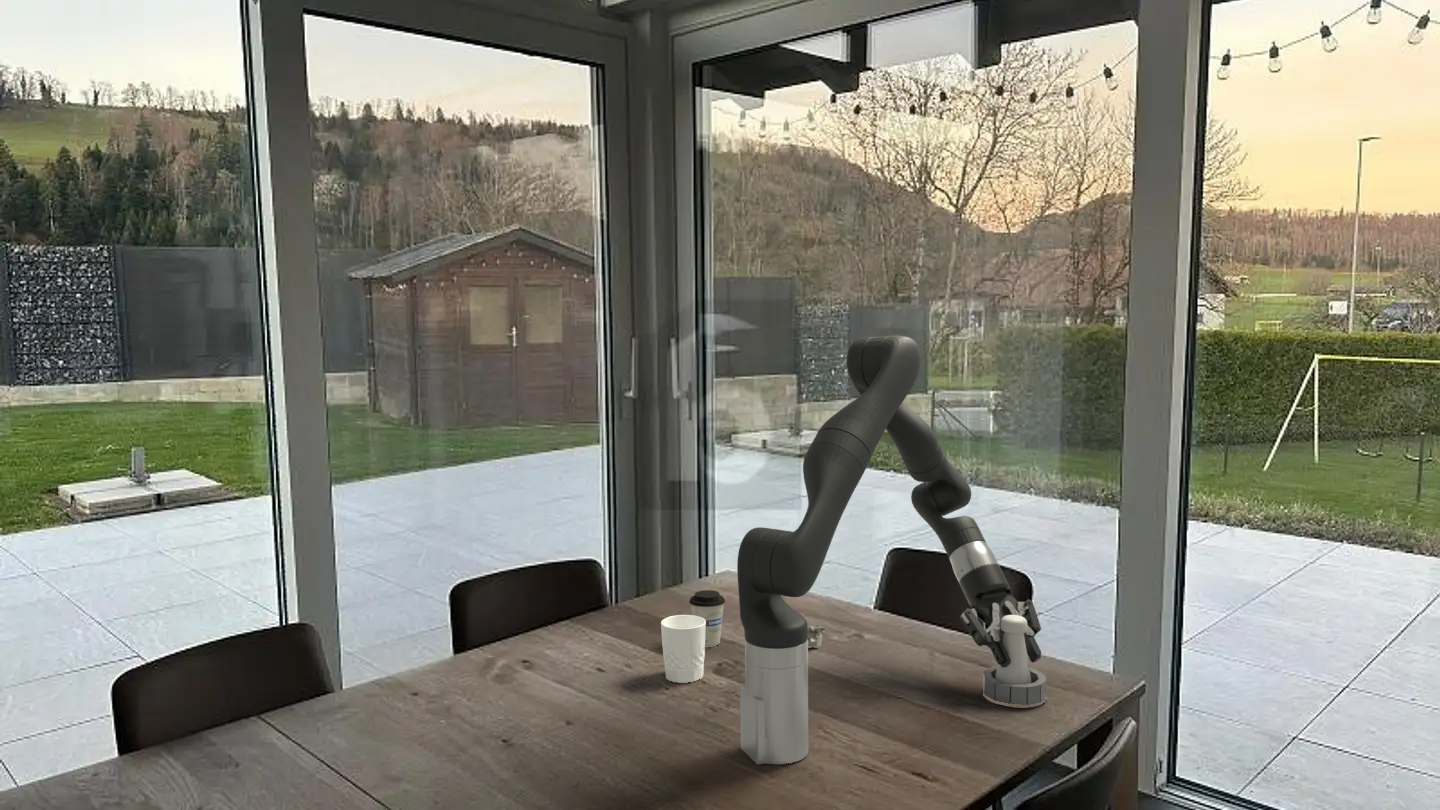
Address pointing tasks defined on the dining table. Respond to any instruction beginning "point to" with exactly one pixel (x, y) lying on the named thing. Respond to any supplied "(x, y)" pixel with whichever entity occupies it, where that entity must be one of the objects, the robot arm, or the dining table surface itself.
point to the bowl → (1015, 688)
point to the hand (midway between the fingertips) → (1021, 662)
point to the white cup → (683, 647)
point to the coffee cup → (709, 613)
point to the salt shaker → (1014, 651)
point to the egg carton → (815, 635)
